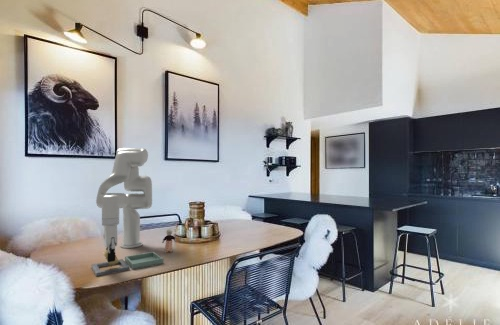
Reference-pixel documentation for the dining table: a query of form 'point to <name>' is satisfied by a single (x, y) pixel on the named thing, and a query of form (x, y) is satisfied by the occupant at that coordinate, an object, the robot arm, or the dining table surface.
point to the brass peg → (107, 258)
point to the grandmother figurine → (168, 241)
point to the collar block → (98, 273)
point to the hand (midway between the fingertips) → (110, 259)
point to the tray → (143, 260)
